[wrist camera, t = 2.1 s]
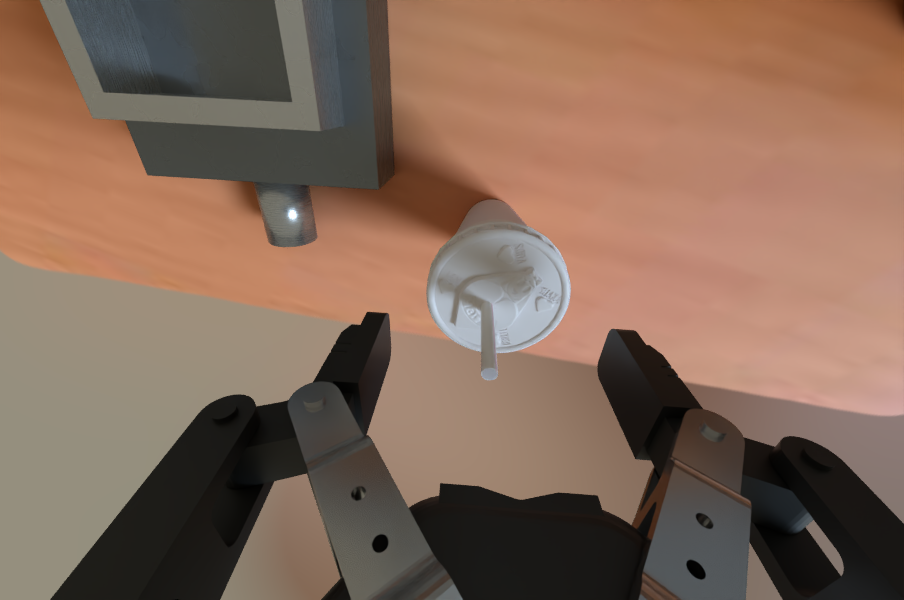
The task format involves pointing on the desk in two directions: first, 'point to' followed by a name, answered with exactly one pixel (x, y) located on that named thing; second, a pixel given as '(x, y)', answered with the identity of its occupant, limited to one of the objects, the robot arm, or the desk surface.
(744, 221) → the desk surface
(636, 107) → the desk surface
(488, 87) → the desk surface
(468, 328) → the smoothie
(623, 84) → the desk surface
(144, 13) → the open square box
